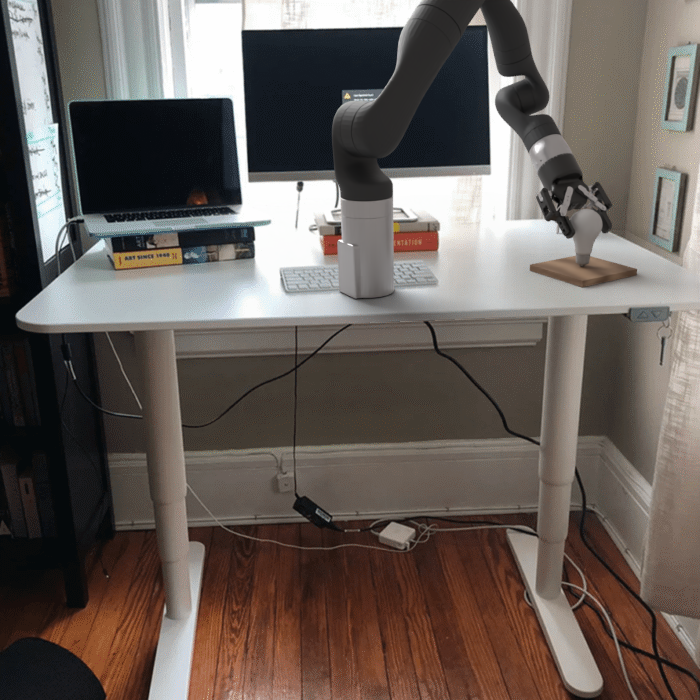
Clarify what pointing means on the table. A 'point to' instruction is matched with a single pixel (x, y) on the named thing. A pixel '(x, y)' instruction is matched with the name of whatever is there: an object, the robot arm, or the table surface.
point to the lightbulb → (585, 233)
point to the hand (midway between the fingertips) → (590, 233)
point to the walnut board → (583, 271)
